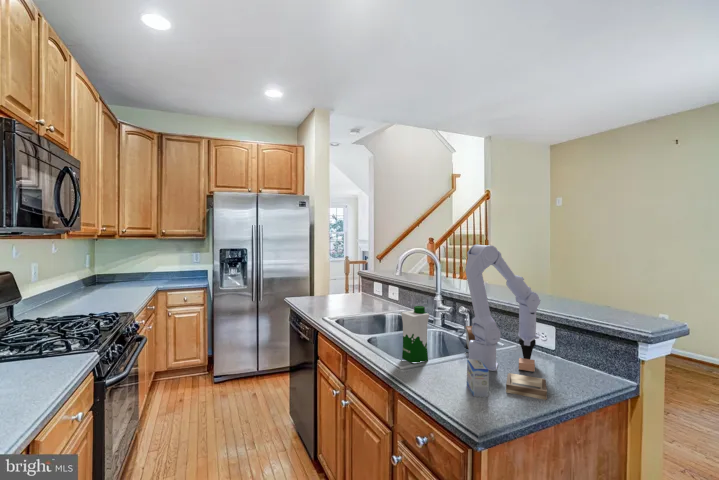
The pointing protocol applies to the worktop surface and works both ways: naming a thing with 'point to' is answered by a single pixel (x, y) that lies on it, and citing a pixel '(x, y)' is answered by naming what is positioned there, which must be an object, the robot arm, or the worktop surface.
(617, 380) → the worktop surface
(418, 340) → the milk carton
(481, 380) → the medicine box
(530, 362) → the peach toy brick
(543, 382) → the dock
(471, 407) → the worktop surface
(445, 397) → the worktop surface
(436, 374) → the worktop surface
